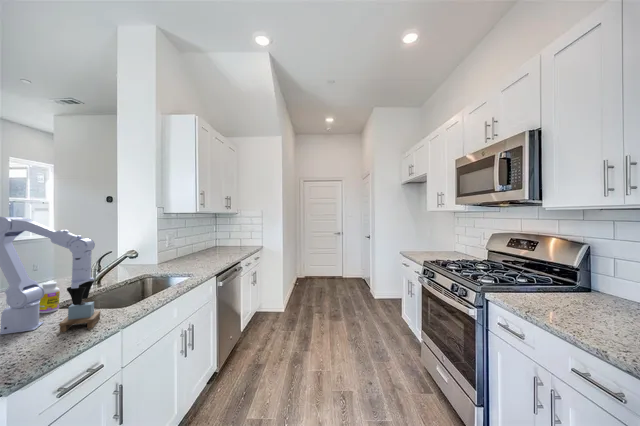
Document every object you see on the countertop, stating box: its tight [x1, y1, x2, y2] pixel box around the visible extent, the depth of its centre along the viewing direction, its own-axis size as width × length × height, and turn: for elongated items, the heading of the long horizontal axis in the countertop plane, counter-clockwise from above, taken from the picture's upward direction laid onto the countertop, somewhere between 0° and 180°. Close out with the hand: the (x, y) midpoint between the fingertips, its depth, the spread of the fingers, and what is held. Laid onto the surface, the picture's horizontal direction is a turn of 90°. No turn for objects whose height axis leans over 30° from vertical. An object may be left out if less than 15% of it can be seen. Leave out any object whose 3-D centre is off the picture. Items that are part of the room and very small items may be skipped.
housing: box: [67, 301, 95, 320], centre depth 107 cm, size 7×4×6 cm, turn 117°
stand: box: [59, 310, 101, 333], centre depth 107 cm, size 10×10×4 cm
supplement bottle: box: [39, 281, 61, 314], centre depth 121 cm, size 7×7×13 cm
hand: (80, 301), depth 107 cm, fingers open, 7 cm apart
